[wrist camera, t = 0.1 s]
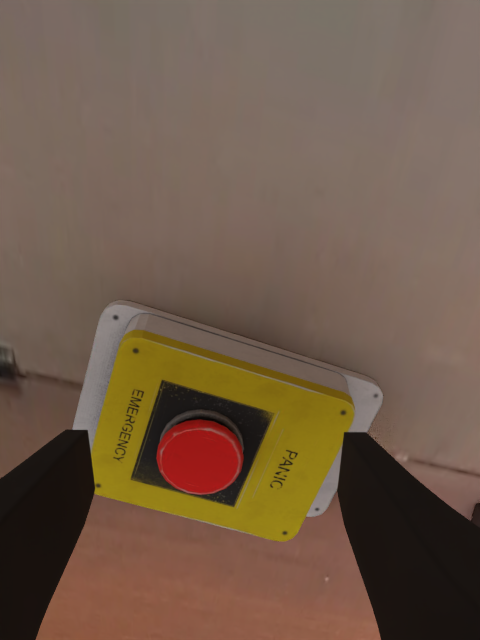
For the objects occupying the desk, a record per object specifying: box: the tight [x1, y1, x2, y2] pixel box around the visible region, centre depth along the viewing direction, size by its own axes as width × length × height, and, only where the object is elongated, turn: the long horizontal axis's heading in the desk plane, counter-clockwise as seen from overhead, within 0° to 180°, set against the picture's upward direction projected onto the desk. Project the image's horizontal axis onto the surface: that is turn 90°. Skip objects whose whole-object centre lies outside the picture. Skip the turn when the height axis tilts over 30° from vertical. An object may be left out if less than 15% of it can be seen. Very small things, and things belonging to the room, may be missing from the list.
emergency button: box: [72, 300, 384, 541], centre depth 21 cm, size 9×4×15 cm
